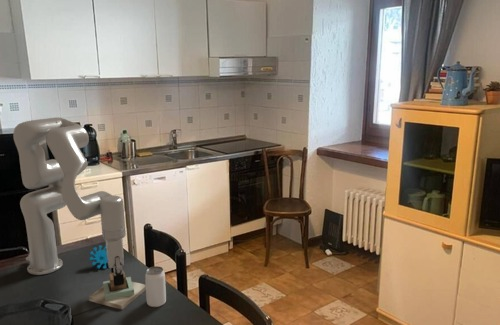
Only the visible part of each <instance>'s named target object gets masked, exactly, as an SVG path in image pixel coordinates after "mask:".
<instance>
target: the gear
mask: <svg viewBox="0 0 500 325" xmlns="http://www.w3.org/2000/svg"><path fill="white" fill-rule="evenodd" d="M102 248H103V249H102ZM97 249H98V251H97ZM92 250H93V251H90V253H89V255H90V257H89V261H93V262H91V266H92V267H93V266H95V265H97V266H96V269H98V270H99V269H100V268H101V267H102V269H103V270H106V269H107V268H108V267H107V264H108V262H107V252H106V245H105V246H104V247H103V245H99V246H98V248H97V247H96V246H95V247H93V248H92ZM94 252H95V253H94ZM102 265H103V266H102Z"/></svg>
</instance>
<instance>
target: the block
mask: <svg viewBox="0 0 500 325" xmlns="http://www.w3.org/2000/svg"><path fill="white" fill-rule="evenodd" d="M122 271H123V276H124V284H123V285H118V286H114V278H113V275H114V273H112V272H110V273H108V276H109V281H110V289H111V292H113V291H118V290H123V289H127V287H126V277H127V276H126V274H125V270H122Z"/></svg>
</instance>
